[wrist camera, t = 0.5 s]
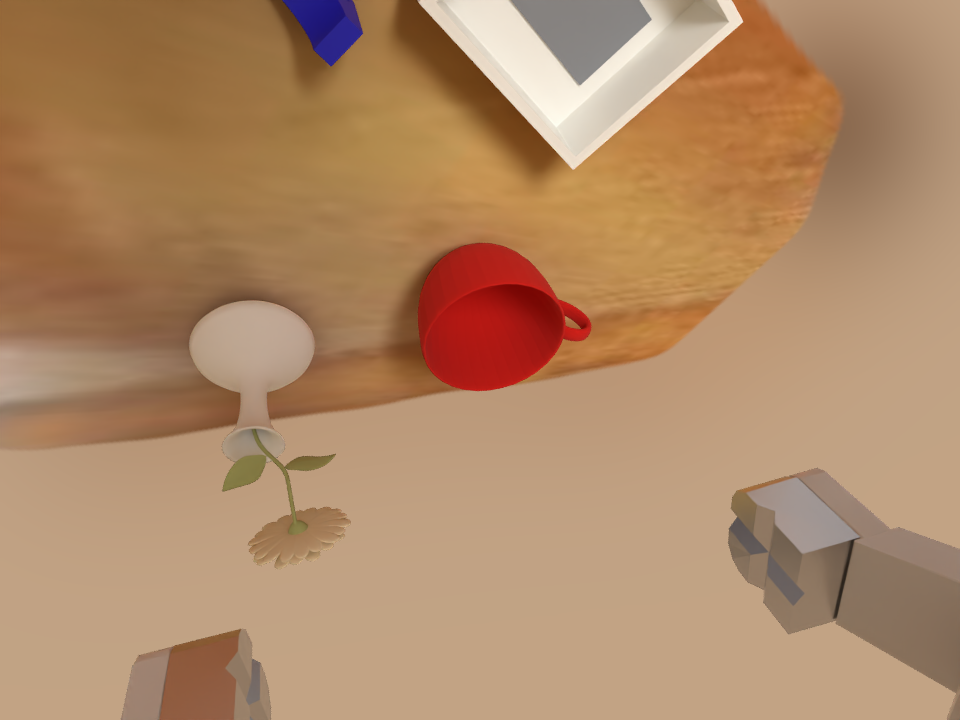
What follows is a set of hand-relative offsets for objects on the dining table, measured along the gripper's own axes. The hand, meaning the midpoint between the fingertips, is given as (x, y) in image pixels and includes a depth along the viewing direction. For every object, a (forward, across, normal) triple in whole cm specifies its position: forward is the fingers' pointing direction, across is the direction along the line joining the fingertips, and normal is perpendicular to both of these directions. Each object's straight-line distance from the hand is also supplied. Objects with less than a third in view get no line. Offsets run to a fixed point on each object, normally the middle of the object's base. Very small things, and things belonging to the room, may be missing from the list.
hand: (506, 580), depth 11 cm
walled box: (+47, -19, -6) cm, 51 cm away
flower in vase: (+56, +10, +21) cm, 61 cm away
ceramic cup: (+54, -12, +18) cm, 58 cm away
